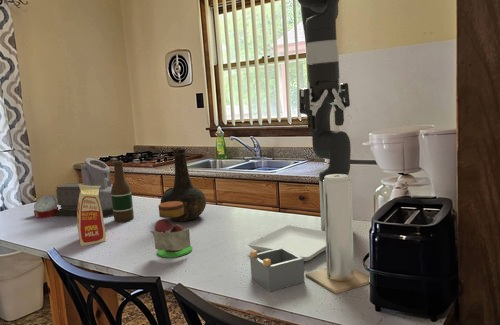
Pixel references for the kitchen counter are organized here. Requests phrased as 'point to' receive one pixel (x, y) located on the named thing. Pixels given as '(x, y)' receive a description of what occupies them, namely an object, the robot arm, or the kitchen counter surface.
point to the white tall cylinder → (338, 227)
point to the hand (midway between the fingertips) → (326, 128)
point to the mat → (338, 286)
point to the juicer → (91, 176)
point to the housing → (276, 268)
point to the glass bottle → (184, 190)
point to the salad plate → (293, 241)
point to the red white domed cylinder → (46, 207)
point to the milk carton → (90, 216)
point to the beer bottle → (121, 195)
